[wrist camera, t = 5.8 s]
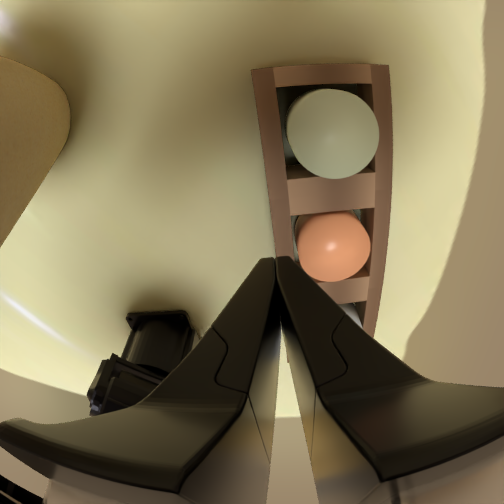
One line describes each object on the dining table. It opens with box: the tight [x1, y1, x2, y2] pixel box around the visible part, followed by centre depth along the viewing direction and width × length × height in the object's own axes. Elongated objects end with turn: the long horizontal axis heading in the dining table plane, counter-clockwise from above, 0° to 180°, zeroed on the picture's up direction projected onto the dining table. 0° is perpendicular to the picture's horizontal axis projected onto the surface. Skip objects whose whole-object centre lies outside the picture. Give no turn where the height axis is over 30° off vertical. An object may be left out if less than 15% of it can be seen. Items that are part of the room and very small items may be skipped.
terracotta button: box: [294, 210, 370, 282], centre depth 21 cm, size 5×5×3 cm
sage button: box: [285, 88, 379, 179], centre depth 16 cm, size 5×5×3 cm
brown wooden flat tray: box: [251, 64, 393, 363], centre depth 22 cm, size 8×24×3 cm, turn 8°
